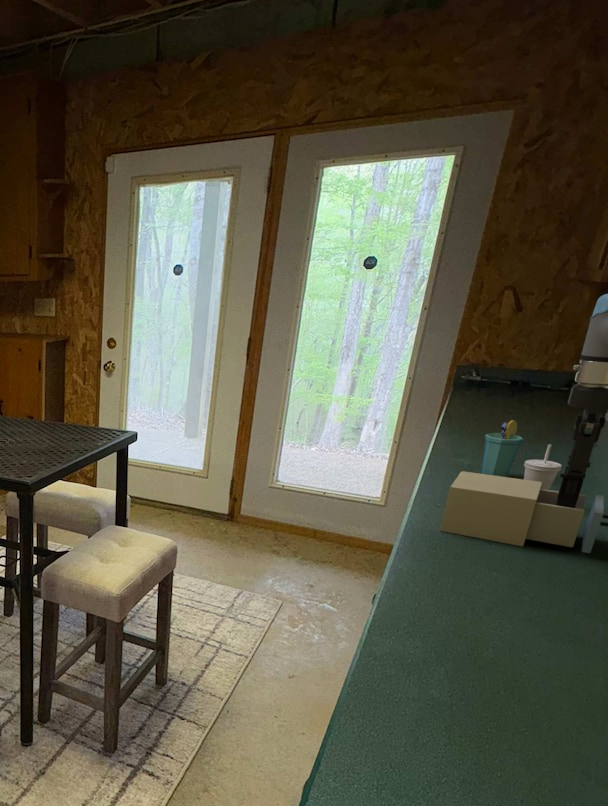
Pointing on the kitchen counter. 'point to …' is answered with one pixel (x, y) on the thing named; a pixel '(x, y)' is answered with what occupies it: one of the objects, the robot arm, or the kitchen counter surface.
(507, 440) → the cup
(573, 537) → the drawer
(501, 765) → the kitchen counter surface
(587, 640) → the kitchen counter surface
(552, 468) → the smoothie
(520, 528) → the tan drawer cabinet
